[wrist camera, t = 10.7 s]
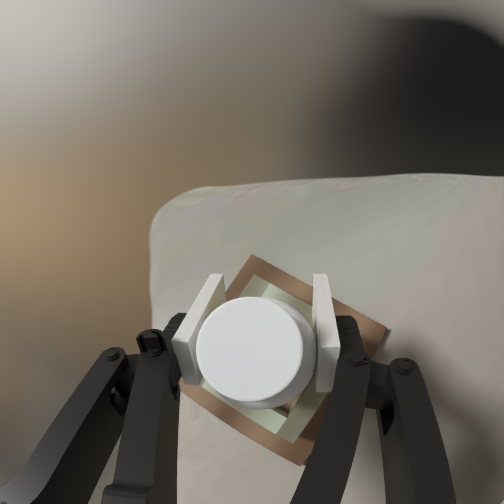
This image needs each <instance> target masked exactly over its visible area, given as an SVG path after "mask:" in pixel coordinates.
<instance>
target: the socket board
mask: <svg viewBox="0 0 504 504" xmlns="http://www.w3.org/2000/svg"><path fill="white" fill-rule="evenodd" d="M225 294H226V302H228V301H230V300H233V299H237V298H241V297H269V298H274V299H277V300H280V301H283V302H285V303H287V304H289V305H290V306H292V307H293V308H295V309H296V310H297V311H299V312H300V313H301V314H302V315H303V316H304V318H305V319H306V320H307V322H308V323H309V325H310V327H311V329H312V331H313V319H312V305H313V287H311V286H309V285H308V284H306V283H304V282H302V281H300V280H298V279H297V278H295V277H293V276H291V275H289V274H287V273H286V272H284V271H282V270H280V269H278V268H276V267H275V266H273V265H271V264H269V263H267V262H265V261H264V260H262V259H260V258H258V257H256V256H254V255H253V254H251V256H250V257H249V258H248V260H247V261H246V263H245V264H244V266H243V267H242V269H241V270H240V272H239V273H238V275H237V276H236V278H235V279H234V281H233V282H232V284H231V285H230V287H229V288H228V290H227V291H226V293H225ZM332 303H333V308H334V314H335V316H339V315H351V316H352V317H353V318H354V319H355V320H356V321H357V324H358V329H359V332H360V335H361V339H362V343H363V346H364V350H365V353H366V354H368V355H369V357H370V358H372V356H373V354H374V353H375V351H376V349H377V347H378V345H379V343H380V341H381V339H382V337H383V335H384V333H385V331H386V329H387V327H385V326H383V325H381V324H379V323H378V322H376V321H374V320H372V319H370V318H368V317H366V316H365V315H363V314H361V313H359V312H357V311H355V310H354V309H352V308H350V307H348V306H346V305H344V304H343V303H341V302H339V301H337V300H335V299H333V298H332ZM179 385H180V390H181V391H182V392H183V393H184V394H186V395H187V396H188V397H190V398H191V399H192V400H194V401H195V402H196V403H198V404H199V405H201V406H202V407H203V408H205V409H206V410H208V411H209V412H210V413H212V414H213V415H215V416H216V417H218V418H219V419H221V420H222V421H224V422H225V423H227V424H228V425H230V426H231V427H233V428H234V429H236V430H237V431H239V432H240V433H242V434H244V435H245V436H247V437H249V438H250V439H252V440H253V441H255V442H257V443H258V444H260V445H262V446H264V447H265V448H267V449H269V450H271V451H272V452H274V453H276V454H278V455H280V456H282V457H283V458H285V459H287V460H289V461H291V462H293V463H295V464H297V465H299V466H301V465H302V464H303V463H304V462H305V460H306V459H307V458H308V456H309V455H310V454H311V451H312V449H313V446H314V443H315V440H316V438H317V435H318V432H319V429H320V426H321V423H322V420H323V417H324V414H325V411H326V408H327V405H328V401H329V398H330V395H331V392H316V376H315V369H314V373H313V375H312V377H311V379H310V381H309V383H308V384H307V386H306V387H305V388H304V389H303V391H302V392H301V393H300V394H298V395H297V396H296V397H295V398H293V399H292V400H291V401H289V402H287V403H285V404H283V405H281V406H278V407H275V408H270V409H263V410H256V409H248V408H243V407H240V406H237V405H235V404H233V403H231V402H229V401H228V400H226V399H225V398H223V397H222V396H221V395H220V394H219V393H217V392H216V390H215V389H214V388H212V387H211V386H210V385H209V383H208V382H207V381H206V379H205V378H204V376H203V377H202V380H201V382H200V385H199V386H195V385H187V384H184V382H183V379H182V377H181V379H180V381H179Z"/></svg>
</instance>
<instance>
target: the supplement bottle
mask: <svg viewBox="0 0 504 504" xmlns="http://www.w3.org/2000/svg"><path fill="white" fill-rule="evenodd" d="M196 355H197V362H198V365H199V368H200V371H201V373H202V375H203V376H204V378H205V379H206V381H207V382H208V383H209V385H210V386H211V387H212V388H214V389H215V390H216V392H217V393H219V394H220V395H221V396H222V397H223V398H225V399H226V400H228V401H229V402H231V403H233V404H235V405H237V406H240V407H243V408H248V409H256V410H263V409H270V408H275V407H278V406H281V405H283V404H285V403H287V402H289V401H291V400H292V399H293V398H295V397H296V396H297V395H298V394H300V393H301V392H302V391H303V389H304V388H305V387H306V386H307V384H308V383H309V381H310V379H311V377H312V375H313V373H314V369H315V366H316V360H317V344H316V340H315V336H314V333H313V331H312V329H311V327H310V325H309V323H308V322H307V320H306V319H305V318H304V316H303V315H302V314H301V313H300V312H299V311H297V310H296V309H295V308H293V307H292V306H290V305H289V304H287V303H285V302H283V301H280V300H277V299H274V298H269V297H241V298H237V299H233V300H230V301H228V302H226V303H224V304H222V305H221V306H219V307H218V308H216V309H215V310H214V311H213V312H212V313H211V314H210V315H209V316H208V317H207V319H206V320H205V322H204V323H203V325H202V327H201V329H200V331H199V335H198V338H197V344H196Z"/></svg>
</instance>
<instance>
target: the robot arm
mask: <svg viewBox="0 0 504 504" xmlns="http://www.w3.org/2000/svg"><path fill="white" fill-rule="evenodd" d="M224 303H226V294H225V286H224V277H223V274H211V275H210V276H209V278H208V280H207V281H206V283H205V285H204V286H203V288H202V290H201V291H200V293H199V295H198V296H197V298H196V300H195V301H194V303H193V305H192V306H191V308H190V310H189V311H188V313H178V314H176V315H175V316H174V317H172V318H171V320H170V321H169V323H168V325H167V326H166V327H165V329H164V331H163V332H162V331H161V330H158V329H149V330H145V331H143V332H141V333H140V334H138V336H137V337H136V340H137V343H138V346H139V349H140V351H141V354H132V355H126V353H125V351H124V350H123V349H122V348H120V347H112V348H109V349H107V350H105V351H104V352H103V353H102V354H101V355H100V357H99V358H98V359H97V361H96V362H95V363H94V365H93V366H92V367H91V369H90V370H89V371H88V373H87V374H86V375H85V377H84V378H83V380H82V381H81V382H80V384H79V385H78V387H77V388H76V389H75V391H74V392H73V394H72V395H71V397H70V398H69V399H68V401H67V402H66V403H65V405H64V406H63V408H62V409H61V411H60V412H59V414H58V415H57V416H56V418H55V419H54V421H53V422H52V424H51V425H50V427H49V428H48V430H47V431H46V433H45V435H44V436H43V438H42V439H41V441H40V442H39V444H38V445H37V447H36V449H35V450H34V452H33V453H32V455H31V456H30V458H29V460H28V461H27V463H26V464H25V466H24V468H23V469H22V471H21V473H20V474H19V475H18V476H16V477H15V478H14V479H13V480H12V481H10V482H9V483H8V484H7V485H5V486H4V487H3V488H2V489H0V504H88V502H89V500H90V498H91V495H92V493H93V491H94V489H95V487H96V485H97V482H98V480H99V478H100V476H101V474H102V472H103V470H104V467H105V466H106V463H107V461H108V459H109V457H110V455H111V453H112V451H113V449H114V447H115V445H116V443H117V441H118V439H119V437H120V435H121V433H122V435H121V440H120V445H119V451H118V456H117V462H116V469H115V474H114V480H113V483H112V484H111V485H107V486H106V487H105V488H104V491H103V494H102V501H101V504H177V449H178V424H179V405H180V385H179V381H180V379H181V377H182V379H183V382H184V384H187V385H195V386H199V385H200V382H201V380H202V377H203V375H202V373H201V371H200V368H199V365H198V362H197V355H196V344H197V338H198V335H199V331H200V329H201V327H202V325H203V323H204V322H205V320H206V319H207V317H208V316H209V315H210V314H211V313H212V312H213V311H214V310H215V309H216V308H218V307H219V306H221V305H222V304H224ZM312 319H313V333H314V336H315V340H316V344H317V360H316V366H315V376H316V392H331V395H330V398H329V401H328V405H327V408H326V411H325V414H324V417H323V420H322V423H321V426H320V429H319V432H318V435H317V438H316V440H315V443H314V446H313V449H312V451H311V454H310V457H309V459H308V462H307V464H306V467H305V470H304V472H303V474H302V477H301V479H300V482H299V484H298V486H297V489H296V491H295V493H294V496H293V498H292V500H291V502H290V504H340V503H341V499H342V496H343V493H344V490H345V487H346V483H347V480H348V476H349V473H350V469H351V466H352V462H353V458H354V454H355V450H356V446H357V441H358V437H359V433H360V428H361V423H362V418H363V413H364V408H365V407H367V408H373V409H376V413H377V420H378V427H379V434H380V442H381V450H382V459H383V469H384V480H385V493H386V504H456V499H455V494H454V488H453V483H452V478H451V474H450V469H449V465H448V460H447V456H446V452H445V448H444V444H443V441H442V437H441V433H440V430H439V426H438V423H437V420H436V416H435V413H434V410H433V407H432V404H431V401H430V398H429V395H428V392H427V389H426V386H425V383H424V380H423V377H422V375H421V372H420V369H419V367H418V365H417V364H416V363H415V362H414V361H413V360H411V359H408V358H397V359H395V360H393V361H392V362H391V364H390V365H385V364H380V363H376V362H374V361H372V360H371V358H370V357H369V355H368V354H366V353H365V350H364V346H363V343H362V339H361V335H360V332H359V329H358V324H357V321H356V320H355V319H354V318H353V317H352V316H351V315H339V316H335V314H334V308H333V303H332V298H331V293H330V288H329V283H328V279H327V274H314V279H313V305H312ZM113 387H114V389H113ZM112 389H113V391H112ZM111 391H112V392H111Z"/></svg>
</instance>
